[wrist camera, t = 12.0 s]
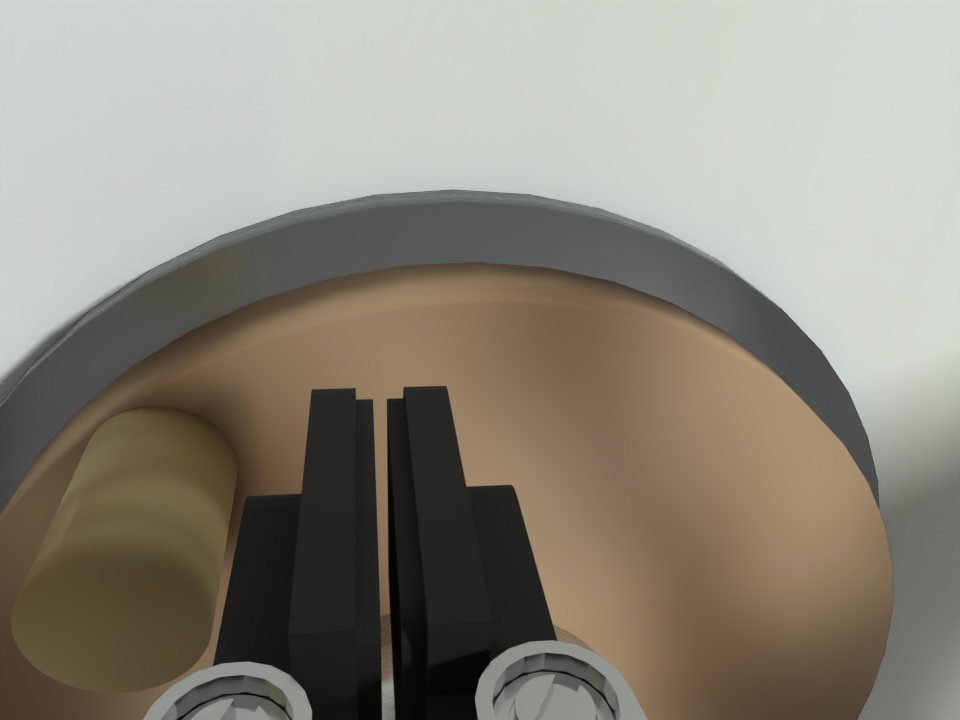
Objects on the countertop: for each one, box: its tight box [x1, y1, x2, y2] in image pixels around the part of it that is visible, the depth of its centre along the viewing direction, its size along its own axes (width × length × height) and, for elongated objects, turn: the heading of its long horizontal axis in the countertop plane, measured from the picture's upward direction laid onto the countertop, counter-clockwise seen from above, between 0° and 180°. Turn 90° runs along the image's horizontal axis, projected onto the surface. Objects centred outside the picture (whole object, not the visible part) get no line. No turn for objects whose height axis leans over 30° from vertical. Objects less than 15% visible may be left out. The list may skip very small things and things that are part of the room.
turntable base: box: [0, 190, 879, 513], centre depth 19 cm, size 22×22×3 cm
